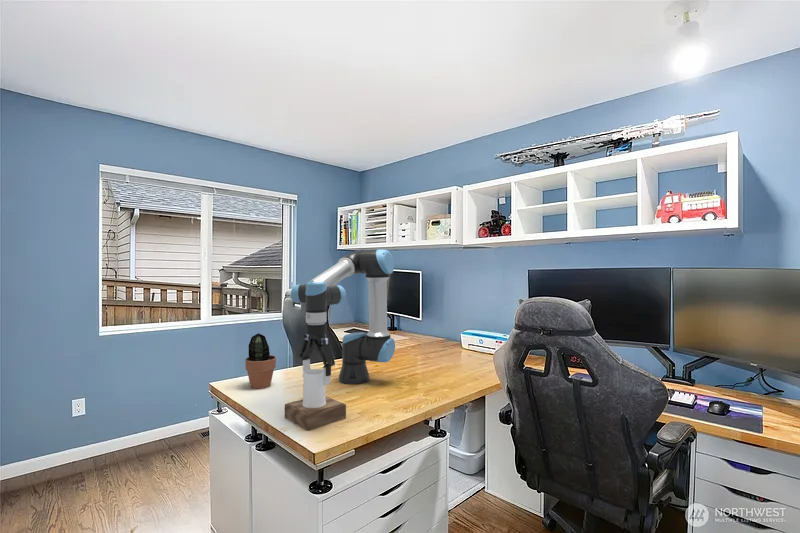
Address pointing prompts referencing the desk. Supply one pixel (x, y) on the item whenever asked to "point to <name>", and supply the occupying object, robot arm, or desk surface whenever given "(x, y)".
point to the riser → (315, 413)
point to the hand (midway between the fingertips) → (316, 380)
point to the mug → (313, 389)
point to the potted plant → (259, 363)
